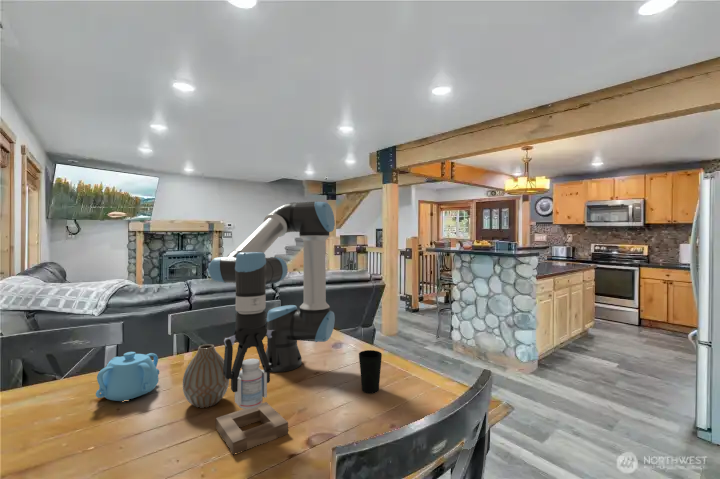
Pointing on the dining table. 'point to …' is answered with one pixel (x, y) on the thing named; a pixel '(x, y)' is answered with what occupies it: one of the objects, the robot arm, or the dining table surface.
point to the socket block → (255, 436)
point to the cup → (370, 370)
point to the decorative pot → (128, 376)
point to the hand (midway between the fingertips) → (251, 399)
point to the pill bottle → (251, 384)
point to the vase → (205, 378)
